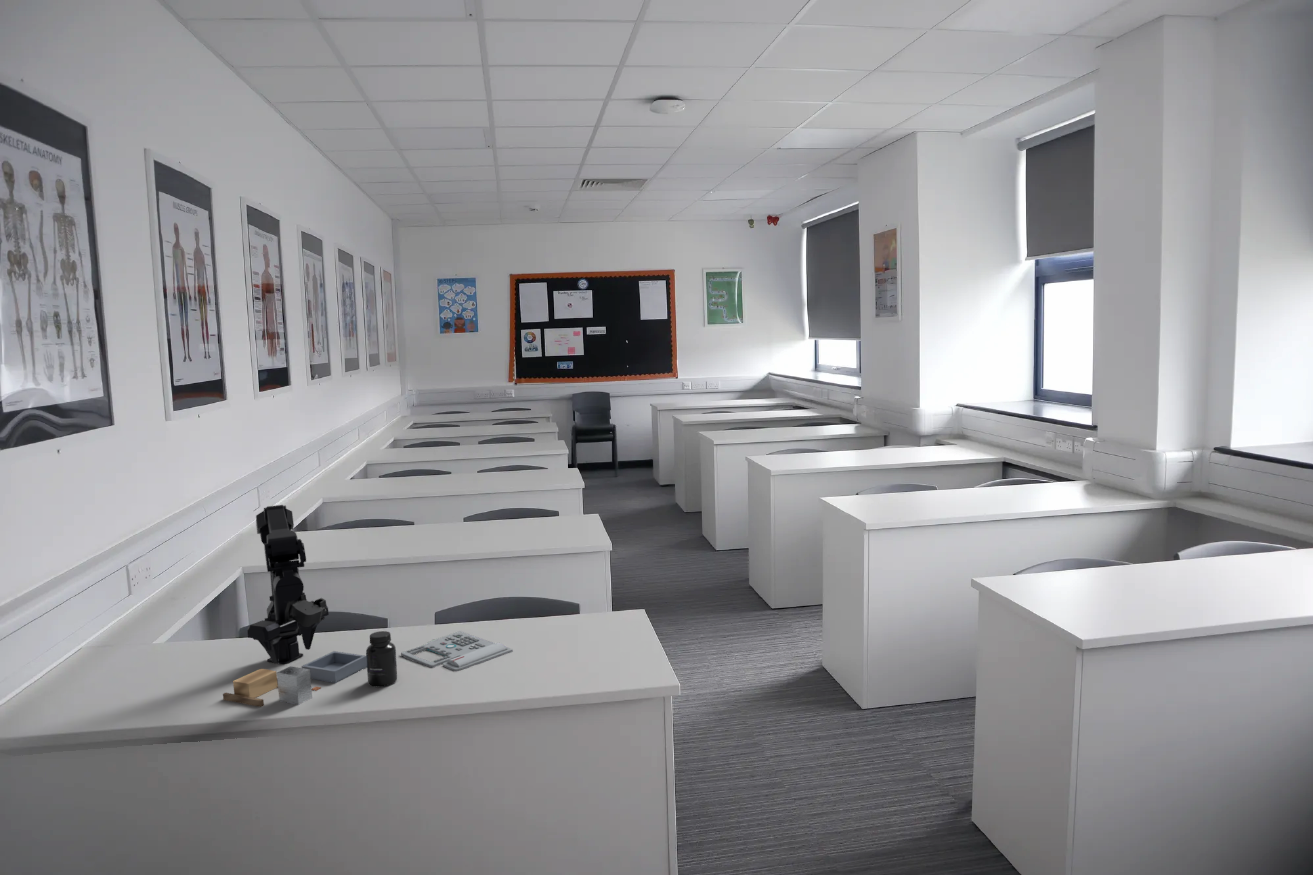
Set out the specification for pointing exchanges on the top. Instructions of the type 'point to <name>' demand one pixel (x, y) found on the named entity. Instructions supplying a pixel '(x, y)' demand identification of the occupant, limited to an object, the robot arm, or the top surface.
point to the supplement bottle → (381, 660)
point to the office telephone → (458, 651)
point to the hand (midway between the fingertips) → (292, 656)
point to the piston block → (256, 683)
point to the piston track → (249, 698)
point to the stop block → (294, 685)
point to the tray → (336, 666)
